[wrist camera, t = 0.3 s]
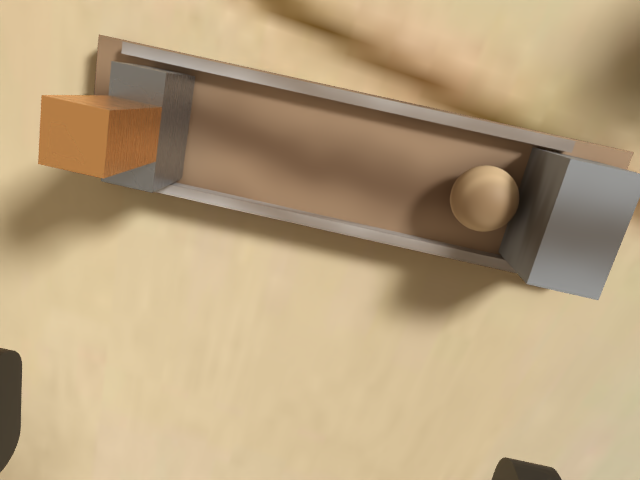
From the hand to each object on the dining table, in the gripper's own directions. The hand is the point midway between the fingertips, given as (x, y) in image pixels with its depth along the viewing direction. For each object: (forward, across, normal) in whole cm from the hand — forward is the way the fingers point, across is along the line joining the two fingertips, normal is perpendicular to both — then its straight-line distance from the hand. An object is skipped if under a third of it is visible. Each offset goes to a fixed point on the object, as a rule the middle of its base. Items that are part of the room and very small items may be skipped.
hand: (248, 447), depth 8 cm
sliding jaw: (+26, +11, -2) cm, 28 cm away
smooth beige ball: (+24, -9, -1) cm, 26 cm away
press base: (+28, -1, -1) cm, 28 cm away
